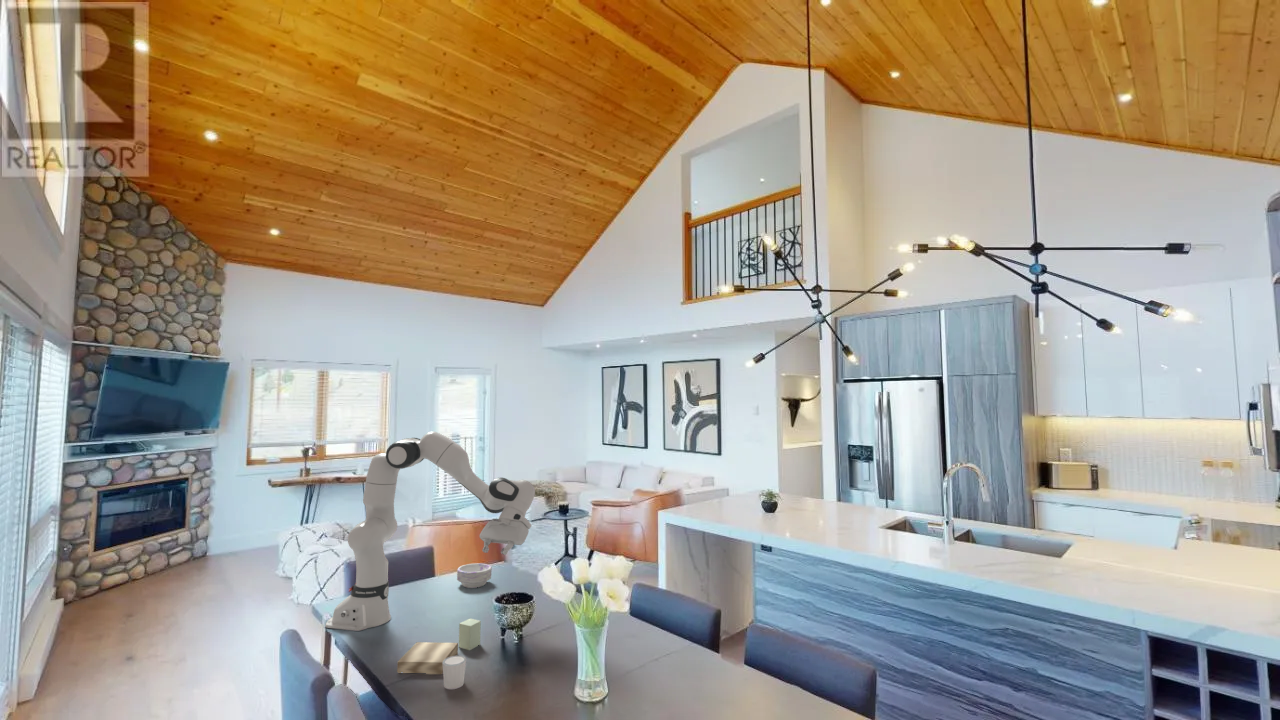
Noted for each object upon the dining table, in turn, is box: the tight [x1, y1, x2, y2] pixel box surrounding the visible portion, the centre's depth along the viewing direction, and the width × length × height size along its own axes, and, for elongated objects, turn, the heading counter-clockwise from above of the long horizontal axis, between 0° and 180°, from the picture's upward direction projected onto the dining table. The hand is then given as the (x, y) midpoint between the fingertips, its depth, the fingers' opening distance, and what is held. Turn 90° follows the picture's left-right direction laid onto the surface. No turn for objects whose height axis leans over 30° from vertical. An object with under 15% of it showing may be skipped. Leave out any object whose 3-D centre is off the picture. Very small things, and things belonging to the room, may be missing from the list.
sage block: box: [458, 618, 482, 651], centre depth 193 cm, size 5×5×8 cm
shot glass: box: [442, 654, 467, 690], centre depth 167 cm, size 7×7×7 cm
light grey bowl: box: [456, 562, 492, 589], centre depth 256 cm, size 15×15×8 cm
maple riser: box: [396, 641, 459, 675], centre depth 180 cm, size 14×14×4 cm
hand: (493, 552), depth 206 cm, fingers open, 8 cm apart
